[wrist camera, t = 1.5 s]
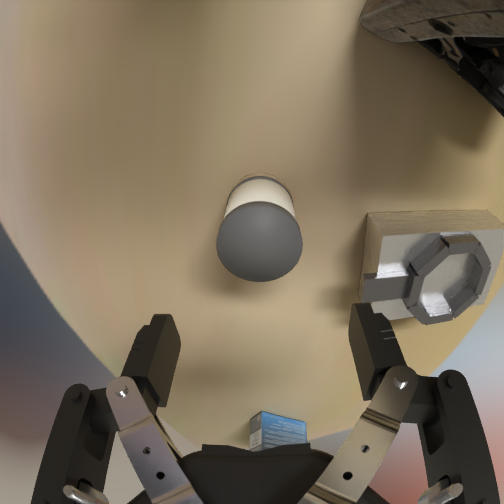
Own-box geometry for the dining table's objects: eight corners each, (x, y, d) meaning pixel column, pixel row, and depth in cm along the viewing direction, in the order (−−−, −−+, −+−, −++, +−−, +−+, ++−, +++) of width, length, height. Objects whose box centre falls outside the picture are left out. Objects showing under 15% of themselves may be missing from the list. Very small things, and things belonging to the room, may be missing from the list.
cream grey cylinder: (223, 175, 23) (210, 211, 17) (290, 169, 23) (301, 204, 17) (232, 233, 26) (223, 284, 20) (293, 228, 26) (303, 279, 20)
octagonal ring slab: (352, 213, 25) (372, 247, 20) (487, 209, 23) (518, 236, 19) (345, 296, 29) (358, 336, 25) (467, 281, 28) (489, 313, 23)
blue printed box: (249, 418, 44) (245, 487, 33) (262, 409, 42) (260, 483, 31) (293, 429, 46) (295, 492, 35) (307, 421, 44) (312, 487, 33)
